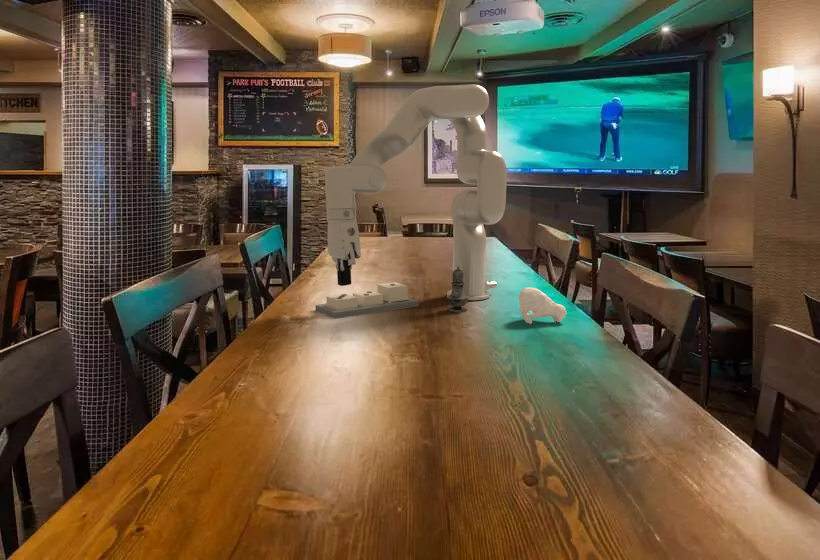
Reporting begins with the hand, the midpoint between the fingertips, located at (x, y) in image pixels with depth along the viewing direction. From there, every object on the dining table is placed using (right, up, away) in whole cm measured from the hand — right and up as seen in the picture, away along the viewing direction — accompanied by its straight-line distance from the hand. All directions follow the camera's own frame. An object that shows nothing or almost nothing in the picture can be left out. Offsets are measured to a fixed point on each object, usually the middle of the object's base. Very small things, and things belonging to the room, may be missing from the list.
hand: (344, 284), depth 163 cm
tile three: (-1, -7, +1) cm, 7 cm away
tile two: (+6, -6, +5) cm, 10 cm away
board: (+6, -6, +5) cm, 10 cm away
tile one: (+12, -4, +10) cm, 16 cm away
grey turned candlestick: (+30, -7, +4) cm, 31 cm away
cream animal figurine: (+50, -9, -8) cm, 52 cm away
